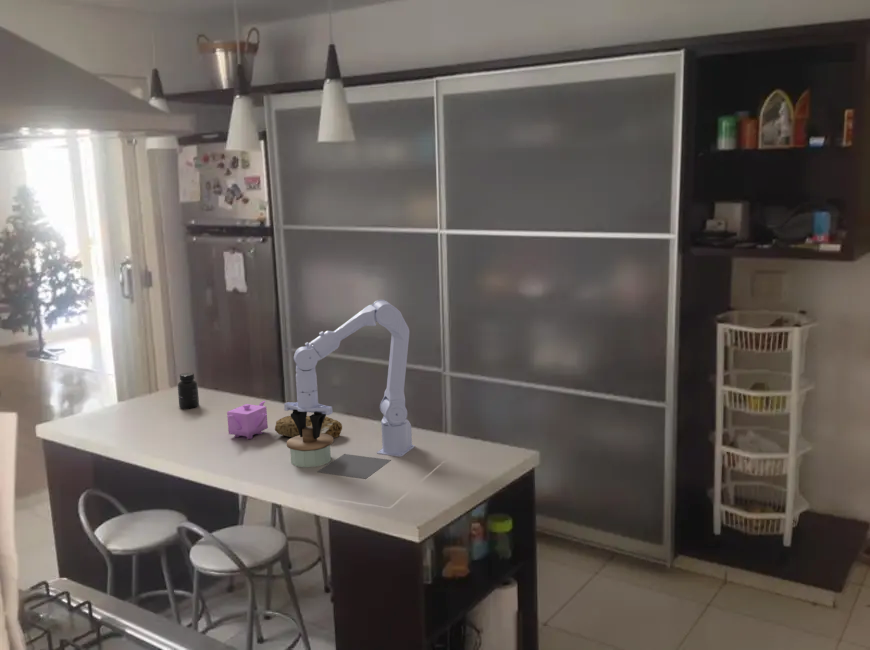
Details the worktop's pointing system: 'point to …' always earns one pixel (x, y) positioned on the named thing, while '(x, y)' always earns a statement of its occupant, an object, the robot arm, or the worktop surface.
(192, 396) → the supplement bottle
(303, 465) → the bowl
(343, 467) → the mat
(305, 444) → the lid
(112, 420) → the worktop surface
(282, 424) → the sponge
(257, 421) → the teapot
